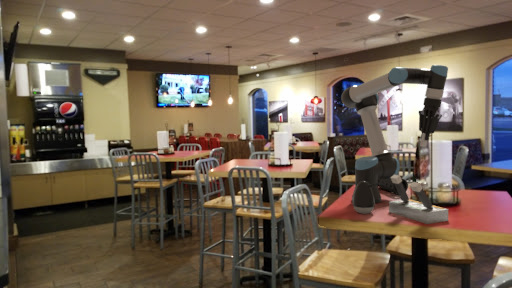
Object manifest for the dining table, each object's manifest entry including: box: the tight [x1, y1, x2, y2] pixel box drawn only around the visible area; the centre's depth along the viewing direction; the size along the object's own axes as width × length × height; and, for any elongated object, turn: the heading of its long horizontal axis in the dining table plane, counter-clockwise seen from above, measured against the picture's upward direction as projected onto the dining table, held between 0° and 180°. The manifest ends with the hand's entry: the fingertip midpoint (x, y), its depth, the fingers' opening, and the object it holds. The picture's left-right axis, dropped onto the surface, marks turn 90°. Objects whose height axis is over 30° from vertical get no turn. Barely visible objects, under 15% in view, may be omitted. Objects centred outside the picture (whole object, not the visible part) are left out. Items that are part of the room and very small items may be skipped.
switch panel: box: [388, 198, 449, 225], centre depth 176 cm, size 23×12×5 cm, turn 22°
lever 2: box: [409, 181, 434, 209], centre depth 167 cm, size 4×3×14 cm
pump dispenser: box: [352, 181, 376, 215], centre depth 184 cm, size 10×10×15 cm
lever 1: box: [390, 174, 410, 203], centre depth 180 cm, size 4×3×14 cm
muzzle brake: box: [378, 177, 409, 196], centre depth 233 cm, size 10×28×10 cm, turn 8°
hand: (423, 146), depth 189 cm, fingers closed
